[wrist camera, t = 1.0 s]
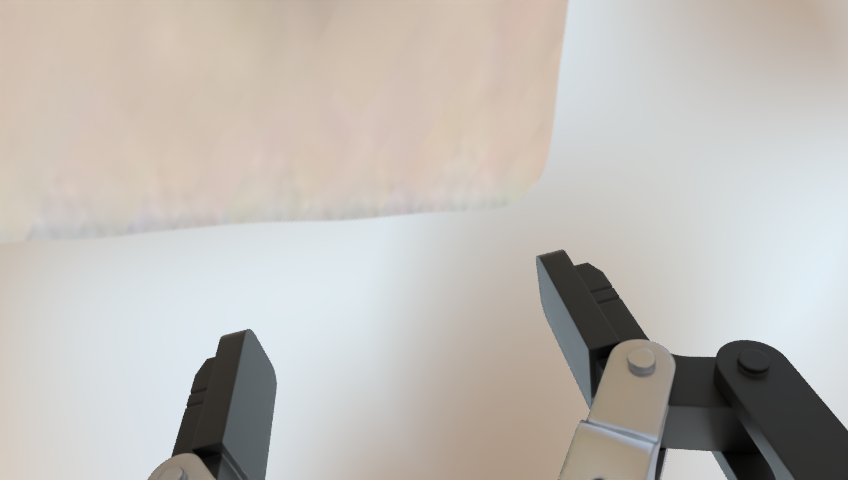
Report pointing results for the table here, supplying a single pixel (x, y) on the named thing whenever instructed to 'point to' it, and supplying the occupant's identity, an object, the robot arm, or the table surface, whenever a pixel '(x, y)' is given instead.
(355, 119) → the table surface
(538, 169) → the table surface
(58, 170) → the table surface
